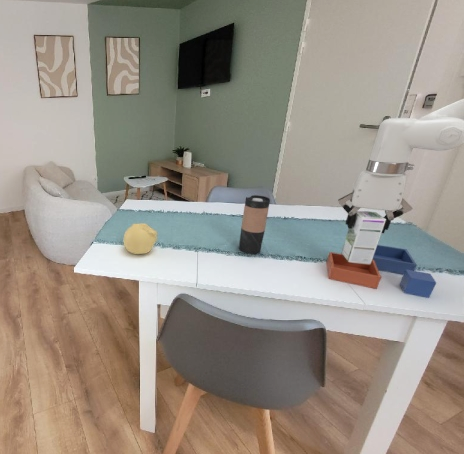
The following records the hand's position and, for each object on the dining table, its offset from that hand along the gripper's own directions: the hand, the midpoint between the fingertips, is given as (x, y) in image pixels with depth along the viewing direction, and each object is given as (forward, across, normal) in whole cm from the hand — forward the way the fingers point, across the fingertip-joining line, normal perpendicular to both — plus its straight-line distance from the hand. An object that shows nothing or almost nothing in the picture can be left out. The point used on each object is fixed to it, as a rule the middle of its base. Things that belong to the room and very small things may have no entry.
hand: (365, 228), depth 84 cm
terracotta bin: (+16, 0, 0) cm, 16 cm away
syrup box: (+10, 0, 0) cm, 10 cm away
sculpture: (+16, +65, +15) cm, 69 cm away
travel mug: (+16, +29, -4) cm, 33 cm away
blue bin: (+16, -10, -13) cm, 23 cm away
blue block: (+16, -14, +2) cm, 21 cm away
